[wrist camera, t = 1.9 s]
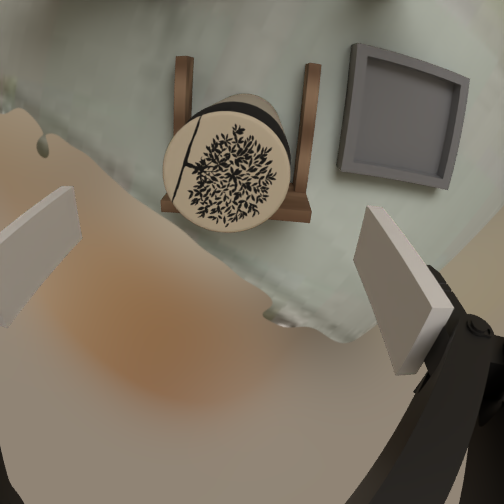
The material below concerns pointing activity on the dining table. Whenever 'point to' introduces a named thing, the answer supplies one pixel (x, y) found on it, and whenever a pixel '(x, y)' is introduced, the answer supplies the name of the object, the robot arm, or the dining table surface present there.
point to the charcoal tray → (401, 118)
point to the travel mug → (229, 165)
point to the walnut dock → (296, 197)
